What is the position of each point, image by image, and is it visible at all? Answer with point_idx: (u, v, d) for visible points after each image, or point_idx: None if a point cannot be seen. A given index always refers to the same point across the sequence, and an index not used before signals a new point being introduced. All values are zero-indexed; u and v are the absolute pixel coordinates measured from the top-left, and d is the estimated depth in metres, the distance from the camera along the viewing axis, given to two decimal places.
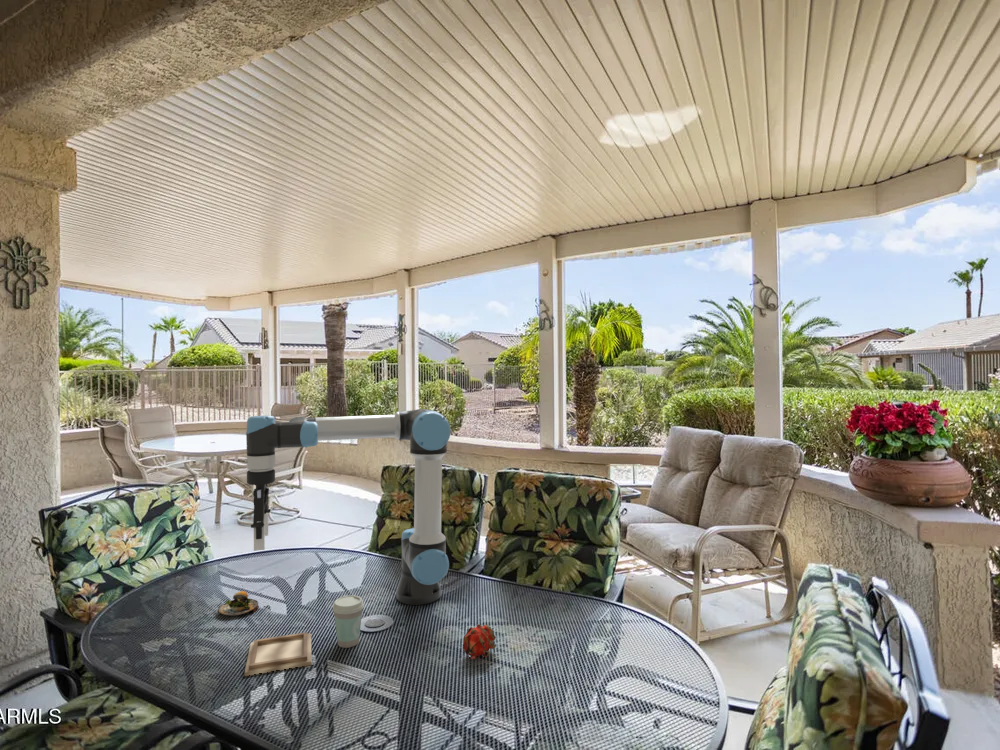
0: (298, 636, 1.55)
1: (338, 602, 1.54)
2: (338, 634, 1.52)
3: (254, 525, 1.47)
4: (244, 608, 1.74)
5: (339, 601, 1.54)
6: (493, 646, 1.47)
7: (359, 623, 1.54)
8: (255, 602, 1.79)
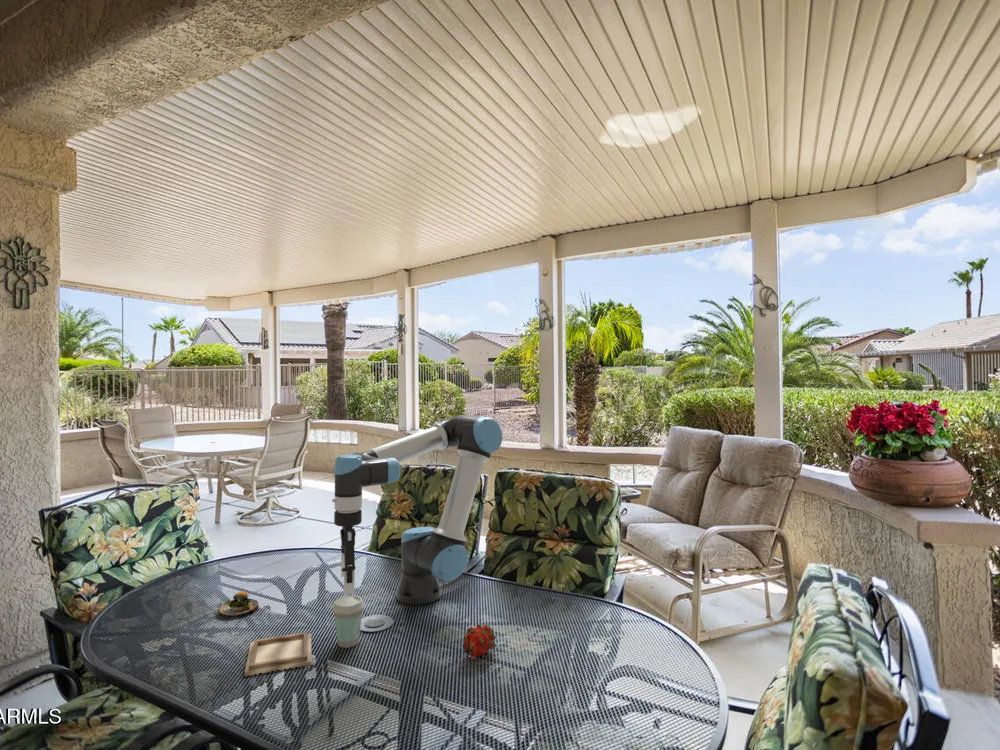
0: (298, 636, 1.55)
1: (338, 602, 1.54)
2: (338, 634, 1.52)
3: (346, 569, 1.44)
4: (244, 608, 1.74)
5: (339, 601, 1.54)
6: (493, 646, 1.47)
7: (359, 623, 1.54)
8: (255, 602, 1.79)
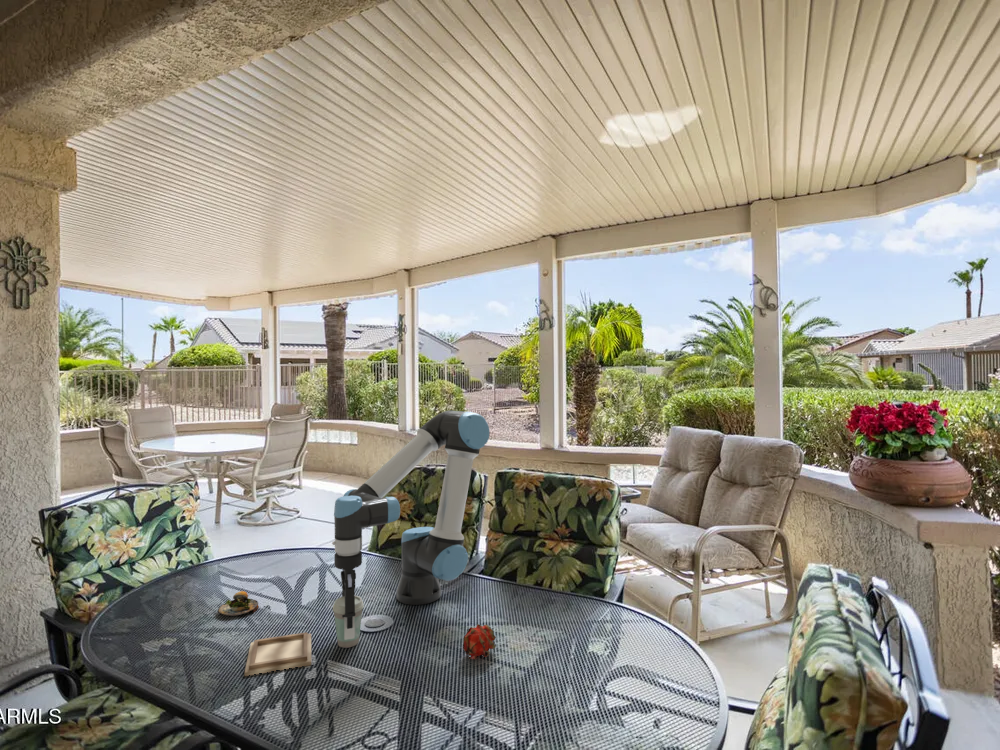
0: (298, 636, 1.55)
1: (338, 602, 1.54)
2: (338, 634, 1.52)
3: (346, 616, 1.47)
4: (244, 608, 1.74)
5: (339, 601, 1.54)
6: (493, 646, 1.47)
7: (359, 623, 1.54)
8: (255, 602, 1.79)
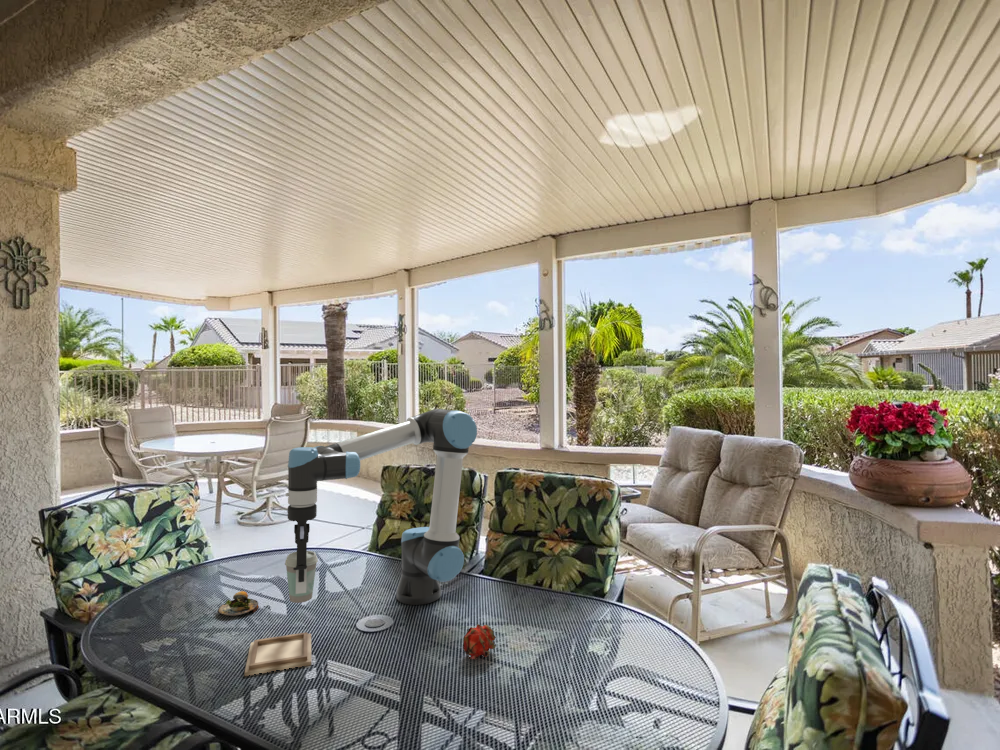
0: (298, 636, 1.55)
1: (291, 556, 1.49)
2: (290, 589, 1.47)
3: (297, 568, 1.42)
4: (244, 608, 1.74)
5: (292, 555, 1.49)
6: (493, 646, 1.47)
7: (312, 578, 1.49)
8: (255, 602, 1.79)
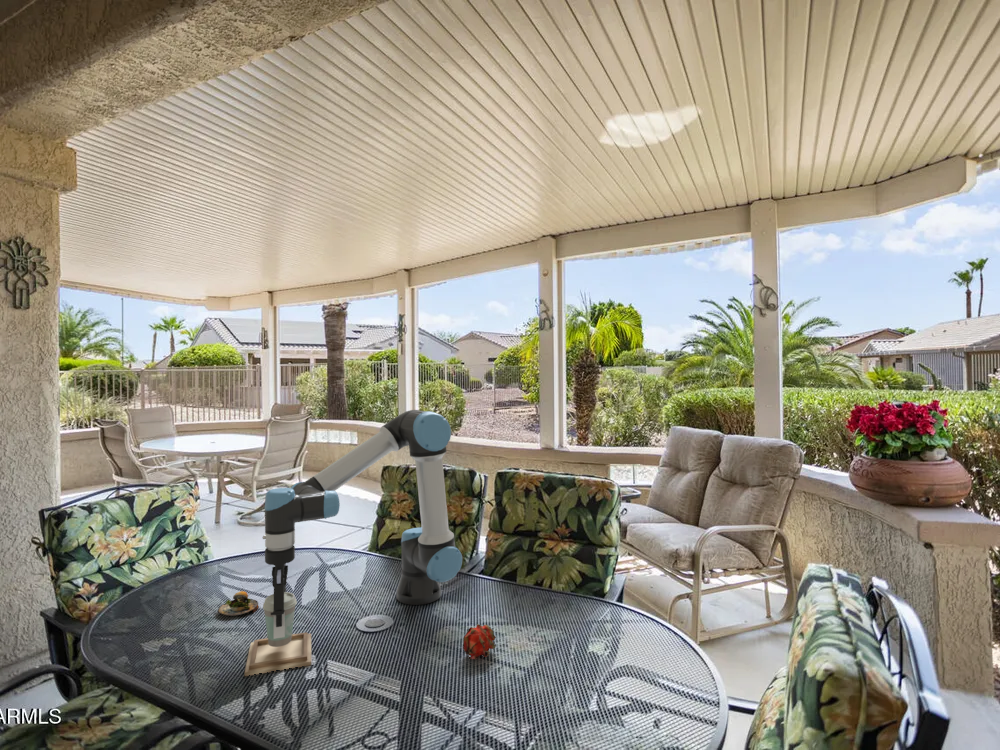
0: (298, 636, 1.55)
1: (269, 599, 1.47)
2: (268, 633, 1.45)
3: (274, 613, 1.40)
4: (244, 608, 1.74)
5: (270, 598, 1.48)
6: (493, 646, 1.47)
7: (291, 621, 1.47)
8: (255, 602, 1.79)
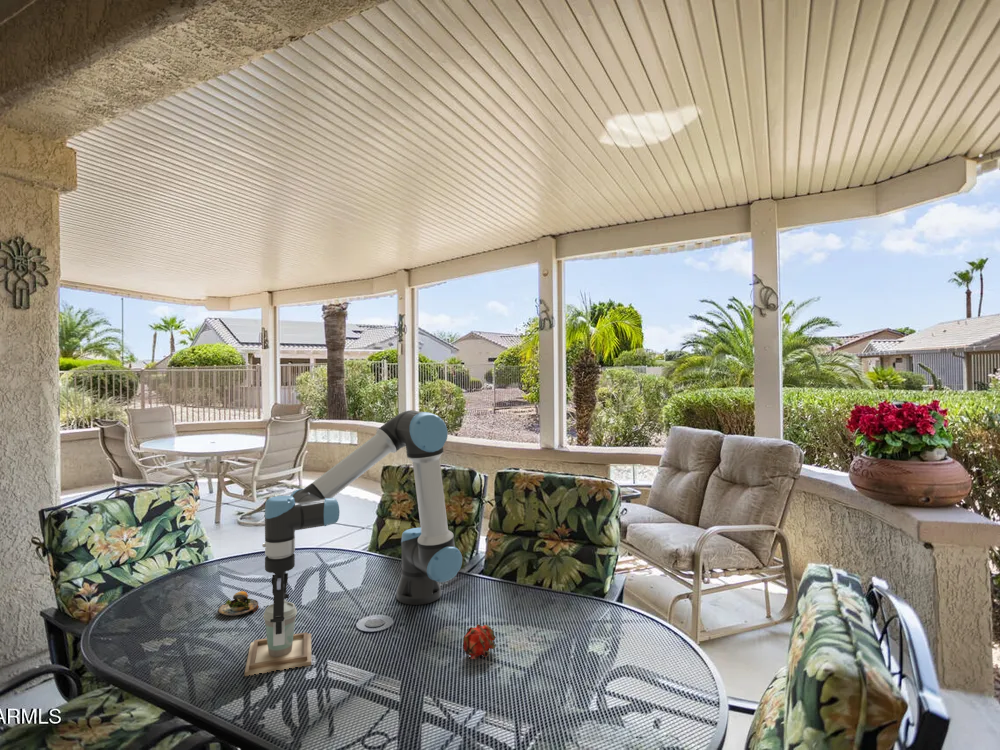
0: (298, 636, 1.55)
1: (269, 609, 1.47)
2: (268, 642, 1.45)
3: (274, 621, 1.38)
4: (244, 608, 1.74)
5: (271, 608, 1.48)
6: (493, 646, 1.47)
7: (291, 631, 1.47)
8: (255, 602, 1.79)
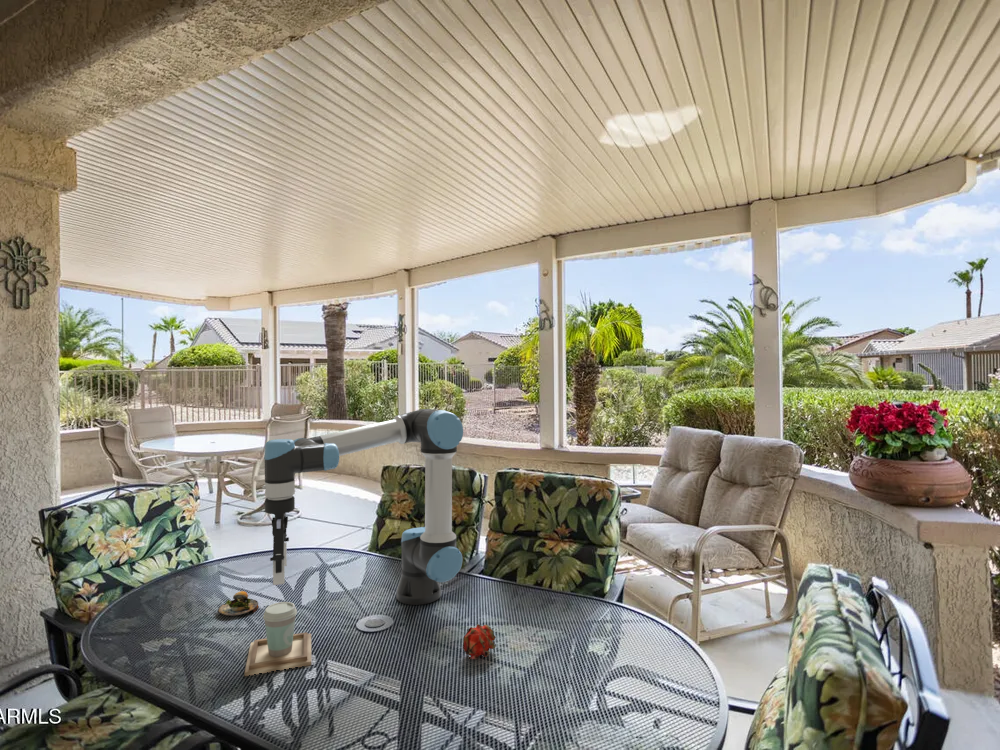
0: (298, 636, 1.55)
1: (269, 609, 1.47)
2: (268, 643, 1.45)
3: (274, 558, 1.38)
4: (244, 608, 1.74)
5: (270, 608, 1.48)
6: (493, 646, 1.47)
7: (291, 631, 1.47)
8: (255, 602, 1.79)
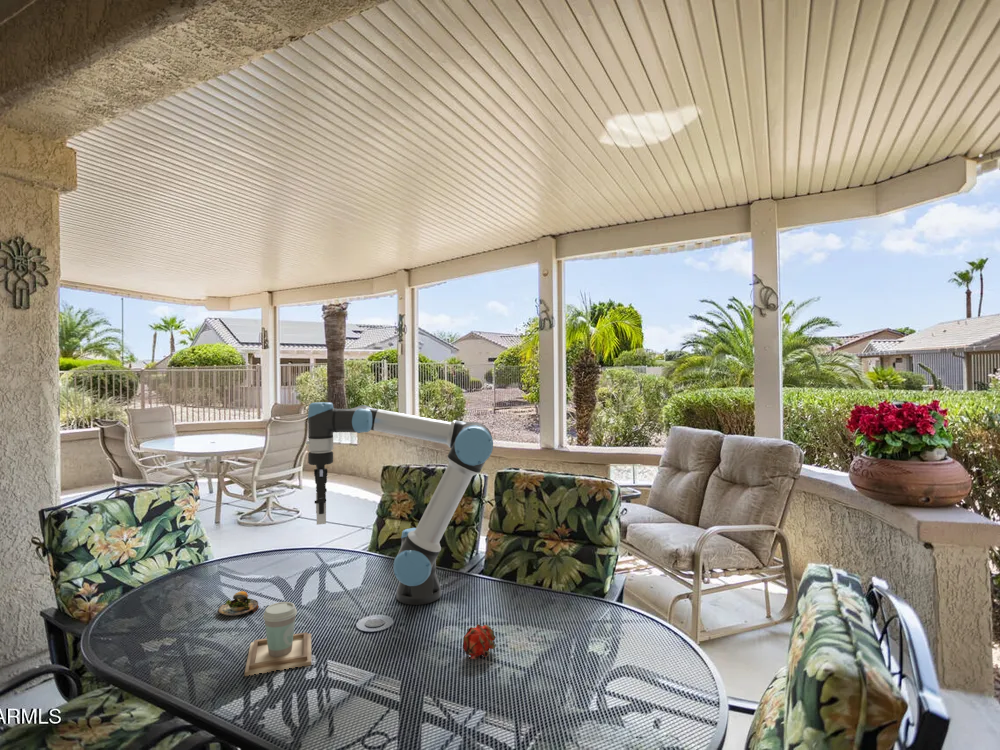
0: (298, 636, 1.55)
1: (269, 609, 1.47)
2: (268, 643, 1.45)
3: (318, 501, 1.62)
4: (244, 608, 1.74)
5: (271, 608, 1.48)
6: (493, 646, 1.47)
7: (291, 631, 1.47)
8: (255, 602, 1.79)
